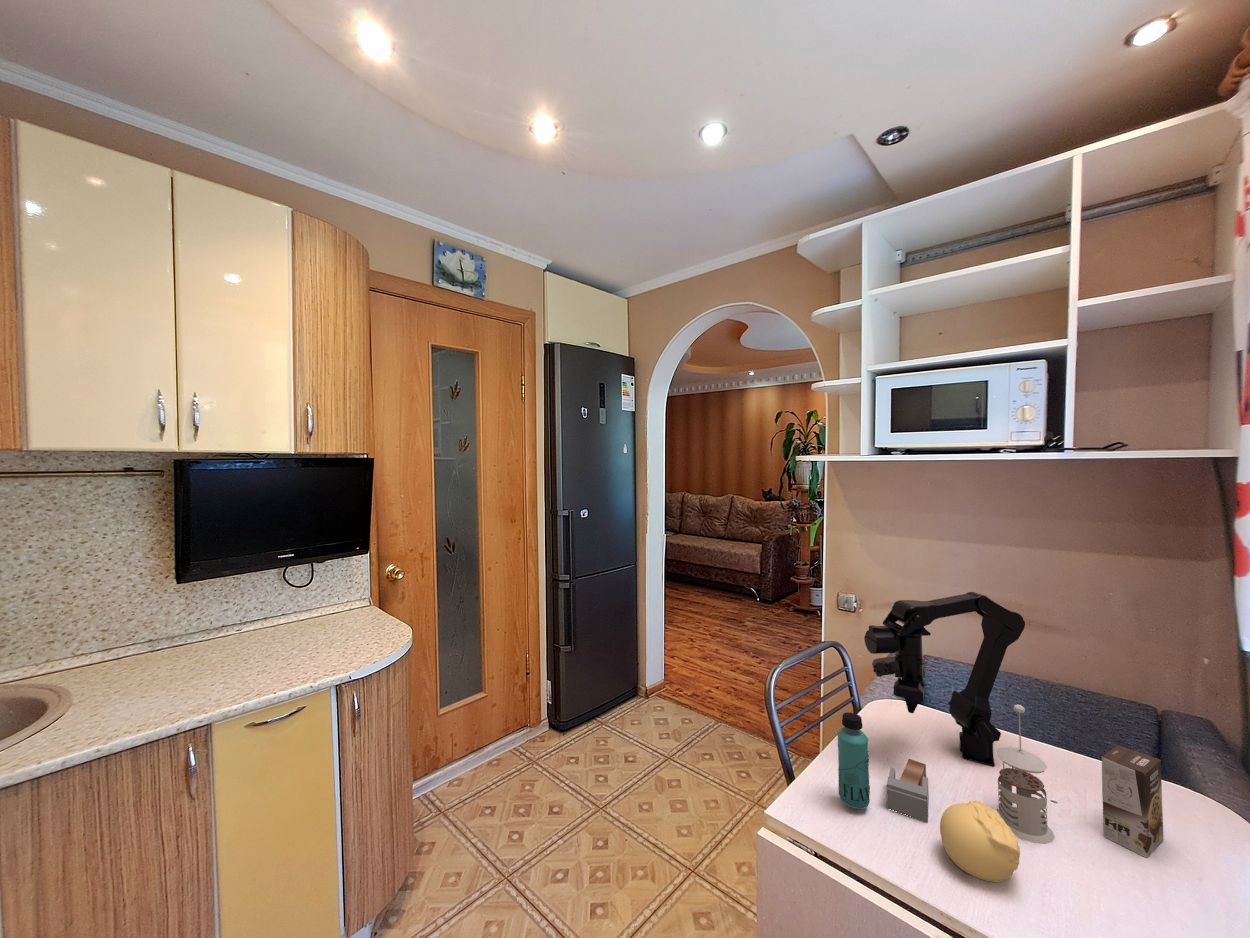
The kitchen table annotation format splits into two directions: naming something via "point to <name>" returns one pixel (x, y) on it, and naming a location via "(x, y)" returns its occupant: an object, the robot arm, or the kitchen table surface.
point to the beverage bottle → (853, 762)
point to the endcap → (908, 797)
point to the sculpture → (979, 841)
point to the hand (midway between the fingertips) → (911, 712)
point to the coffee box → (1132, 800)
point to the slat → (914, 772)
